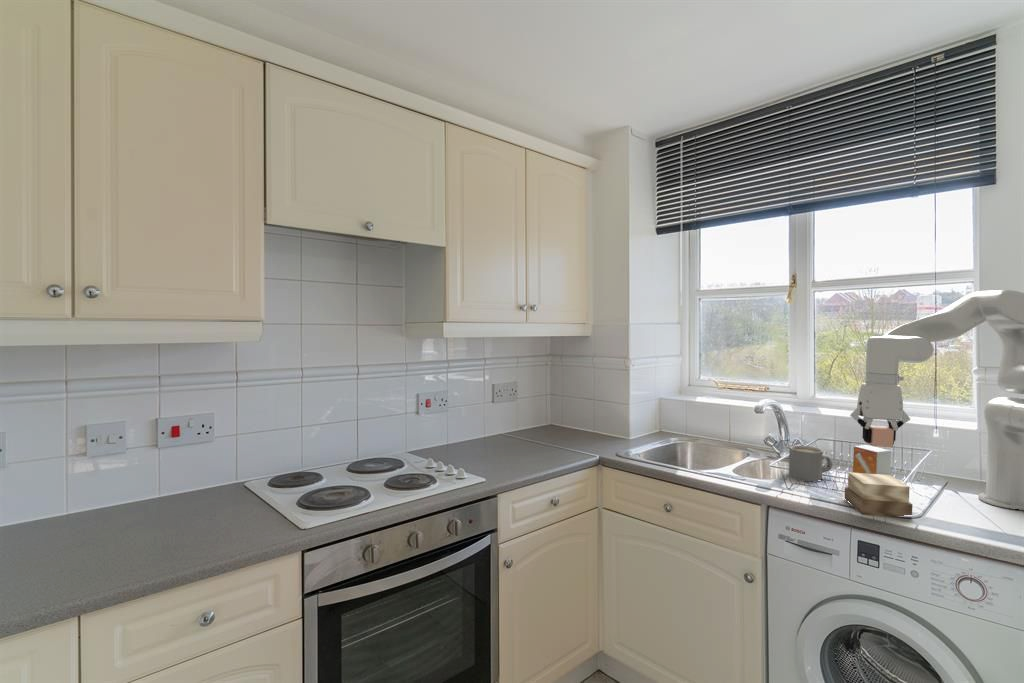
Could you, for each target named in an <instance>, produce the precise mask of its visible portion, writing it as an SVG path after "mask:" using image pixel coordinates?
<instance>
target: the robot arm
mask: <svg viewBox="0 0 1024 683" xmlns="http://www.w3.org/2000/svg"><path fill="white" fill-rule="evenodd" d="M985 322H987V324H988V325H989V326H990V327H991V328H992V329H993V330H994V331H995V332H996V334H997V335H998V336H999V338H1000V340H1001V345H1002V346H1001V354H1000V361H999V366H998V372H997V379H996V380H997V384H998V387H999V388H1000V389H1001V390H1002V391H1005V392H1008V393H1013V394H1018V395H1024V292H1022V291H1018V290H1011V289H1000V290H997V289H996V290H980V291H975V292H971V293H969V294H967V295H964V296H963V297H961V298H960V299H958V300H957V301H955V302H952V304H950V305H948V306H947V307H945V308H943V309H941V310H940V311H938V312H936V313H934V314H930V315H927V316H925V317H921V318H918V319H916V320H913V321H910V322H907V323H904V324H901V325H899V326H897V327H895V328H893V329H892V330H890V331H888V332H886V333H885V334H884V335H882V336H881V335H880V336H879V335H878V336H877V335H876V336H871V337H868V339H867V341H866V359H865V361H866V362H865V378H864V379H865V382H861V385H860V388H859V391H858V397H857V404H856V406H857V407H856V409H854V410H853V411H852V412H851V413H850V415H849V417H851V418H852V419H854V421H856V422H857V423H858V424H859V425H860V427H862V436H861V437H862V439H863V442H864V443H866V442H867V443H866V444H868V443H871V435H872V430H871V429H870V426H871V425H872V423H873V421H874V420H880V421H882V420H883V421H886V424H887V427H888V428H891V429H894V437H893V446H894V445H895V442H896V440H897V439H896V438H897V437H896V436H897V431H898V430H899V428H901V427H902V426H903V425H904V424H906V423H908V422H909V421H910V420H911V417H910V416H909V415H908V414H907V413H906V412H905V410H904V401H903V393H902V389H901V385H899V382H903V381H904V376H900V374H899V363H900V362H901V363H910V364H911V363H912V364H919V363H923V362H926V361H928V360H929V359H930V358H931V357H932V356H933V354H934V346H933V343H934V342H943V341H948V340H952V339H956V338H959V337H961V336H962V335H964V334H966V333H968V332H969V331H971V330H972V329H974V328H976V327H977V326H980V325H981V324H983V323H985ZM983 413H984V420H985V424H986V430H987V451H986V452H987V456H986V478H985V480H986V481H985V482H986V483H985V492H981V493H979V494H978V499H979V500H980V501H982V502H984V503H986V504H989V505H992V506H996V507H1000V508H1004V509H1009V508H1010V509H1011V510H1015V509H1019V510H1018V511H1024V398H1019V397H1009V396H999V397H995V398H992V399H991V400H989V401H988V402H987V403H986V404H985V406H984V412H983ZM861 417H863V419H862V418H861ZM1010 509H1009V510H1010Z"/></svg>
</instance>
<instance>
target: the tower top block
mask: <svg viewBox="0 0 1024 683" xmlns="http://www.w3.org/2000/svg"><path fill="white" fill-rule="evenodd" d="M847 473H848V476H847V477H848V478H847V487H849V488H850V489H851V490H852V491H854V492H855V493H856V494H857V495H859V496H860V497H861V498H862V499H865V500H877V501H889V502H902V503H909V502H910V490H911V488H910V486H909V485H907V484H906V483H904V482H903V481H900V480H899V479H898V478H896V477H894V476H893V475H891V474H890V475H881V474H866V473H853V471H852V472H850V471H849V472H847Z"/></svg>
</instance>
